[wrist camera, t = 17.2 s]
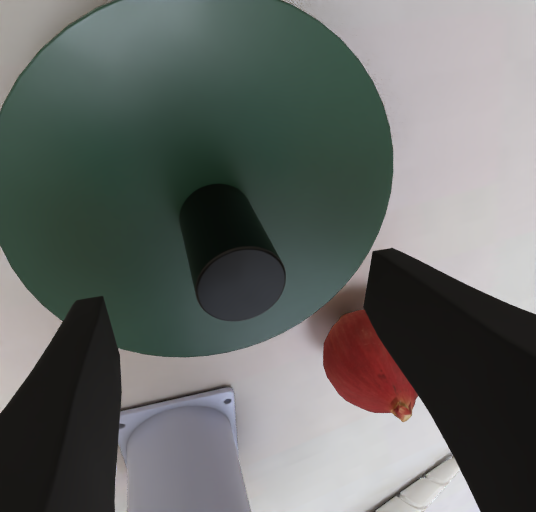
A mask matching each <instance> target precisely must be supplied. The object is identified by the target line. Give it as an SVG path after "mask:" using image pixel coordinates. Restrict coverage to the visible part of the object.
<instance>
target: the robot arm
mask: <svg viewBox="0 0 536 512" xmlns="http://www.w3.org/2000/svg"><path fill="white" fill-rule="evenodd" d="M363 307H364V309H365V312H366V314H367V316H368V318H369V320H370V322H371V324H372V326H373V328H374V330H375V332H376V334H377V336H378V337H379V339H380V340H381V342H382V343H383V345H384V346H385V348H386V349H387V351H388V352H389V354H390V355H391V357H392V358H393V360H394V361H395V363H396V364H397V365H398V367H399V368H400V370H401V371H402V373H403V374H404V375H405V377H406V378H407V380H408V381H409V383H410V384H411V386H412V387H413V388H414V390H415V391H416V393H417V394H418V396H419V397H420V399H421V400H422V402H423V403H424V405H425V406H426V408H427V409H428V411H429V413H430V414H431V416H432V418H433V419H434V421H435V423H436V425H437V427H438V429H439V430H440V432H441V434H442V436H443V438H444V439H445V441H446V443H447V445H448V447H449V449H450V451H451V452H452V454H453V456H454V458H455V460H456V462H457V464H458V466H459V468H460V470H461V472H462V474H463V476H464V478H465V480H466V482H467V484H468V486H469V488H470V490H471V492H472V494H473V496H474V499H475V501H476V503H477V505H478V507H479V509H480V511H481V512H536V314H533V313H531V312H528V311H525V310H523V309H520V308H518V307H515V306H513V305H510V304H508V303H506V302H503V301H501V300H499V299H497V298H494V297H492V296H490V295H488V294H485V293H483V292H481V291H479V290H477V289H475V288H473V287H470V286H468V285H466V284H464V283H462V282H460V281H458V280H456V279H454V278H452V277H450V276H448V275H446V274H444V273H442V272H440V271H438V270H437V269H435V268H433V267H431V266H429V265H427V264H425V263H423V262H421V261H419V260H417V259H415V258H413V257H411V256H409V255H407V254H405V253H403V252H400V251H398V250H396V249H393V248H390V249H384V250H378V251H373V253H372V259H371V265H370V271H369V277H368V282H367V288H366V294H365V300H364V306H363ZM121 393H122V391H121V369H120V354H119V351H118V347H117V344H116V340H115V336H114V333H113V329H112V326H111V322H110V319H109V315H108V312H107V308H106V304H105V301H104V297H103V296H98V297H92V298H86V299H80V300H76V301H75V302H74V303H73V305H72V306H71V308H70V310H69V312H68V313H67V315H66V317H65V319H64V320H63V322H62V324H61V326H60V327H59V329H58V331H57V332H56V334H55V336H54V337H53V339H52V341H51V342H50V344H49V345H48V347H47V348H46V350H45V351H44V353H43V355H42V356H41V358H40V359H39V361H38V362H37V364H36V365H35V367H34V368H33V370H32V371H31V373H30V374H29V376H28V377H27V378H26V380H25V381H24V382H23V384H22V385H21V387H20V388H19V389H18V391H17V392H16V393H15V395H14V396H13V398H12V399H11V400H10V402H9V403H8V404H7V406H6V407H5V408H4V410H3V411H2V412H1V413H0V512H115V502H114V500H115V476H116V462H117V449H118V444H119V447H120V450H121V453H122V456H123V459H124V462H125V465H126V468H127V512H251V509H250V505H249V500H248V496H247V492H246V488H245V484H244V479H243V475H242V471H241V467H240V462H239V457H238V442H237V427H236V412H235V397H234V391H233V389H232V388H229V387H227V388H222V389H217V390H213V391H208V392H204V393H200V394H195V395H191V396H186V397H182V398H177V399H173V400H169V401H164V402H160V403H155V404H151V405H147V406H142V407H138V408H133V409H129V410H124V411H120V408H121Z"/></svg>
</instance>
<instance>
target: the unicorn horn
mask: <svg viewBox="0 0 536 512" xmlns="http://www.w3.org/2000/svg"><path fill="white" fill-rule="evenodd" d="M459 471H460V468H459V466H458V464H457V462H456V460H455V458H454V456H452V458H451V459H448V460H446V461H445V462H443V463H442V464H440V465H439V466H437V467H436V468H434V469H433V470H432V471H430V472H429V473H427V474H426V475H425V477H426V478H420V479H419V480H417V481H416V482H415V483H413V484H412V485H410V486H409V487H407V488H406V489H405V490H403V491H402V492H400V494H401V496H399V497H397V496H395V497H394V498H392V499H391V500H389V501H388V502H387V503H385V504H384V505H383V506H381V507H380V508H378V509H377V510H376V512H424V511H425V510H426V508H427V507H428V505H430V504H431V503H432V502H433V501H434V500H435V498H436V497H437V496H438V495H439V494H440V493H441V492H442V490H443V489H444V488H445V487H446V486H447V485H448V484H449V482H450V481H451V480H452V479H453V478H454V477H455V475H456V474H457V473H458V472H459Z"/></svg>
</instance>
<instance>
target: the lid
mask: <svg viewBox="0 0 536 512" xmlns="http://www.w3.org/2000/svg"><path fill="white" fill-rule="evenodd" d="M392 177H393V147H392V140H391V133H390V126H389V123H388V120H387V116H386V113H385V109H384V106H383V103H382V101H381V98H380V96H379V94H378V92H377V89H376V87H375V85H374V83H373V81H372V79H371V78H370V76H369V75H368V73H367V71H366V70H365V68H364V67H363V65H362V64H361V62H360V61H359V59H358V58H357V57H356V56H355V55H354V53H353V52H352V51H351V50H350V49H349V48H348V47H347V45H346V44H345V43H344V42H343V41H342V40H341V39H340V38H339V37H338V36H337V35H335V34H334V33H333V32H332V31H331V30H329V29H328V28H327V27H326V26H325V25H323V24H322V23H321V22H320V21H319V20H317V19H315V18H314V17H312V16H310V15H309V14H307V13H305V12H304V11H302V10H300V9H299V8H297V7H295V6H293V5H291V4H289V3H286V2H284V1H281V0H113V1H111V2H109V3H106V4H104V5H101V6H99V7H97V8H95V9H93V10H92V11H90V12H89V13H87V14H85V15H84V16H82V17H81V18H79V19H77V20H76V21H74V22H73V23H71V24H69V25H68V26H67V27H66V28H64V29H63V30H62V31H61V32H60V33H59V34H58V35H56V36H55V37H54V38H53V39H52V40H51V41H50V42H48V43H47V44H46V45H45V46H44V47H43V48H42V49H41V50H40V51H39V52H38V53H37V54H36V56H35V57H34V58H33V59H32V61H31V62H30V63H29V64H28V65H27V67H26V68H25V69H24V70H23V72H22V73H21V74H20V75H19V77H18V79H17V80H16V82H15V84H14V86H13V87H12V89H11V91H10V93H9V94H8V96H7V98H6V100H5V101H4V103H3V105H2V108H1V111H0V246H1V248H2V250H3V251H4V253H5V255H6V257H7V259H8V261H9V263H10V265H11V267H12V269H13V270H14V271H15V273H16V274H17V276H18V277H19V278H20V280H21V281H22V283H23V284H24V285H25V287H26V288H27V289H28V290H29V291H30V292H31V293H32V294H33V295H34V297H35V298H36V299H37V300H38V301H39V302H40V303H41V304H42V305H43V306H44V307H45V308H47V309H48V310H49V311H50V312H52V313H53V314H54V315H55V316H57V317H58V318H59V319H60V320H62V321H63V320H64V319H65V317H66V315H67V313H68V312H69V310H70V308H71V306H72V305H73V303H74V302H75V301H76V300H80V299H86V298H92V297H98V296H103V297H104V301H105V304H106V308H107V312H108V315H109V319H110V322H111V326H112V329H113V333H114V336H115V340H116V344H117V347H118V348H120V349H123V350H128V351H132V352H136V353H141V354H147V355H155V356H163V357H198V356H209V355H215V354H221V353H227V352H231V351H235V350H239V349H243V348H247V347H249V346H252V345H255V344H258V343H261V342H264V341H266V340H268V339H270V338H273V337H275V336H277V335H279V334H281V333H283V332H285V331H287V330H289V329H290V328H292V327H294V326H296V325H297V324H299V323H301V322H302V321H304V320H305V319H307V318H308V317H309V316H311V315H312V314H314V313H315V312H317V311H318V310H319V309H320V308H321V307H323V306H324V305H325V304H326V303H327V302H328V301H330V300H331V299H332V298H333V297H334V296H335V295H336V294H337V293H338V292H339V291H340V290H341V289H342V288H343V287H344V286H345V285H346V283H347V282H348V281H349V280H350V278H351V277H352V276H353V275H354V273H355V272H356V271H357V270H358V268H359V267H360V265H361V264H362V262H363V260H364V259H365V257H366V256H367V254H368V253H369V251H370V249H371V247H372V245H373V243H374V241H375V239H376V237H377V235H378V233H379V230H380V228H381V225H382V222H383V220H384V217H385V214H386V210H387V206H388V202H389V198H390V194H391V186H392Z"/></svg>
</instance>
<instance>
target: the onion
mask: <svg viewBox="0 0 536 512" xmlns="http://www.w3.org/2000/svg"><path fill="white" fill-rule="evenodd" d="M323 366H324V369H325V372H326V375H327V378H328V379H329V380H330V382H331V383H332V385H333V386H334V388H335V389H336V391H337V392H338V394H339V395H340V396H342V397H343V398H344V399H345V400H346V401H348V402H350V403H351V404H353V405H355V406H358V407H360V408H362V409H365V410H367V411H370V412H374V413H393V414H394V415H395V416H396V417H397V418H399V419H400V420H401V421H402V422H405V421H407V420H408V419H409V418H410V417H411V416H412V409H413V407H414V404H415V400H416V398H417V397H418V394H417V393H416V391H415V390H414V388H413V387H412V386H411V384H410V383H409V381H408V380H407V378H406V377H405V375H404V374H403V373H402V371H401V370H400V368H399V367H398V365H397V364H396V363H395V361H394V360H393V358H392V357H391V355H390V354H389V352H388V351H387V349H386V348H385V346H384V345H383V343H382V342H381V340H380V339H379V337H378V336H377V334H376V332H375V330H374V328H373V326H372V324H371V322H370V320H369V318H368V316H367V314H366V312H365V309H363V310H358V311H354V312H351V313H347V314H344V315H342V316H341V317H340V318H339V320H338V321H337V322H336V323H335V324H334V325H333V327H332V328H331V330H330V332H329V334H328V336H327V338H326V340H325V342H324V350H323Z"/></svg>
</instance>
